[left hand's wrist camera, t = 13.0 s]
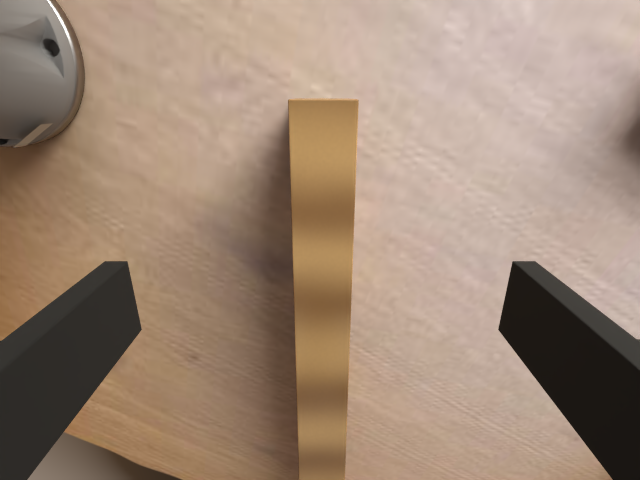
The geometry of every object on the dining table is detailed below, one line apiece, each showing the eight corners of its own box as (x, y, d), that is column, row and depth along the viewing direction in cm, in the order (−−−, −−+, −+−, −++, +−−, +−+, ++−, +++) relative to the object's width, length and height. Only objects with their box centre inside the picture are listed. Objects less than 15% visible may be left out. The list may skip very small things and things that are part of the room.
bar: (295, 98, 34) (287, 99, 26) (349, 98, 34) (358, 99, 26) (304, 496, 53) (301, 564, 46) (338, 496, 53) (341, 564, 46)
